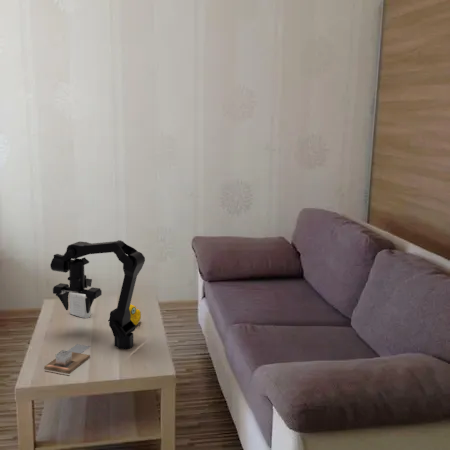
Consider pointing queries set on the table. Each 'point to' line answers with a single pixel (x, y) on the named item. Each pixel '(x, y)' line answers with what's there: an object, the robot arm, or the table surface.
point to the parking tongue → (79, 348)
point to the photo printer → (78, 305)
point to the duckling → (134, 314)
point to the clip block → (64, 359)
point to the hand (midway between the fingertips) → (77, 311)
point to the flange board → (76, 362)
